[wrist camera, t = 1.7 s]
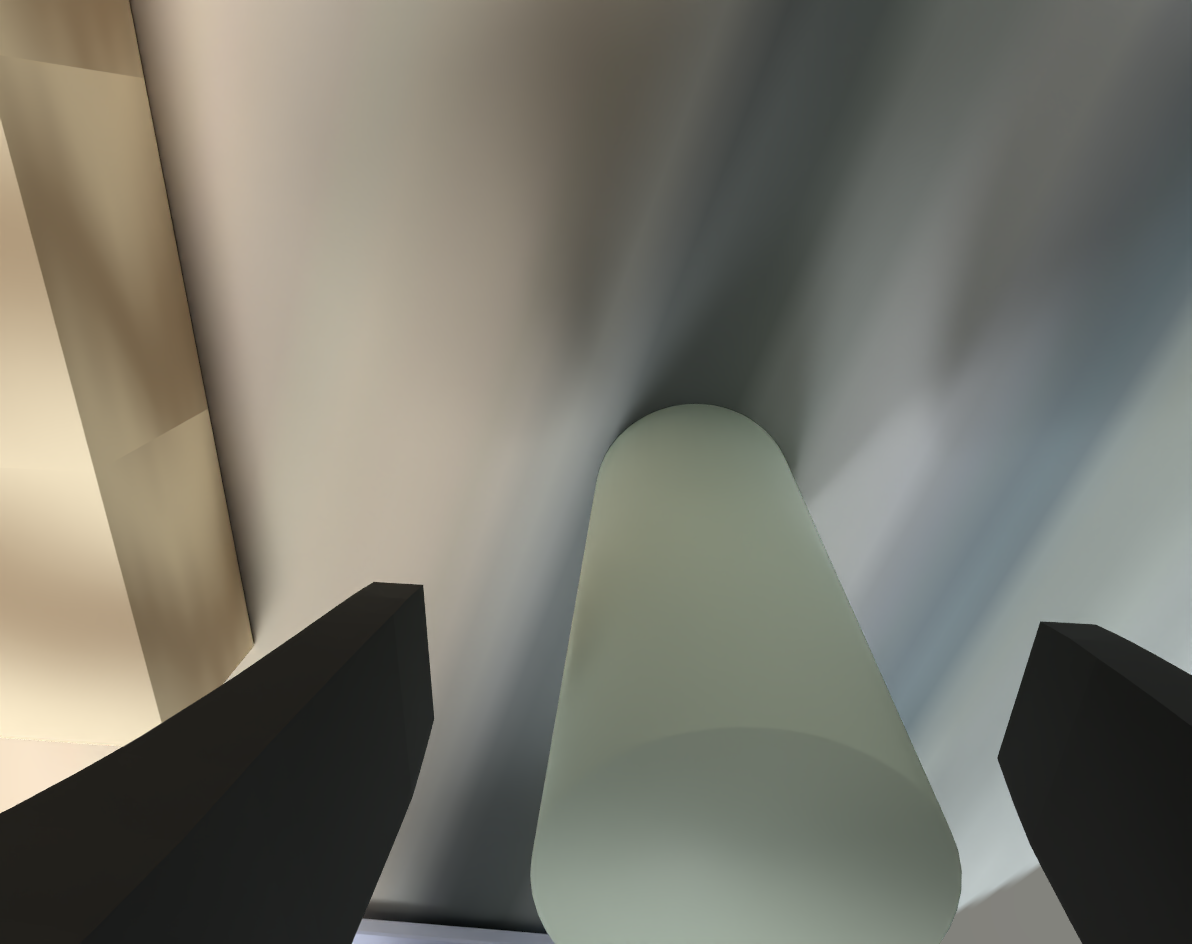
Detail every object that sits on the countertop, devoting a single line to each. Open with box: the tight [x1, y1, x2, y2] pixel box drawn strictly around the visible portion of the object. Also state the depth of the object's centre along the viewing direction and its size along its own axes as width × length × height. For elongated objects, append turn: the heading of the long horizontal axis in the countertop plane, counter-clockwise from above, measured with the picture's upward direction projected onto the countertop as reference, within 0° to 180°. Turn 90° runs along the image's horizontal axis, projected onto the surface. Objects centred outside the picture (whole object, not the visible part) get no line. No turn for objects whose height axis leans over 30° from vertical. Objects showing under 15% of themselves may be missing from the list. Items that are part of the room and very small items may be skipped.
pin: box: [530, 404, 962, 944], centre depth 10 cm, size 4×4×8 cm
